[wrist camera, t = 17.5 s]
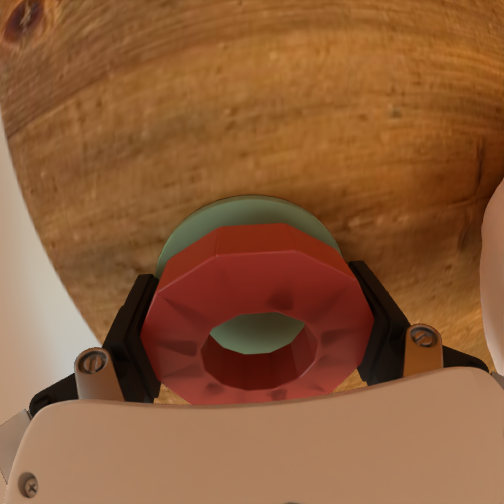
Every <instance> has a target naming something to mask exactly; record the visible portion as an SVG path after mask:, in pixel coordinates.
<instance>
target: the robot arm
mask: <svg viewBox="0 0 504 504" xmlns="http://www.w3.org/2000/svg"><path fill="white" fill-rule="evenodd" d="M348 267H349V268H350V270H351V271H352V273H353V274H354V276H355V277H356V279H357V281H358V283H359V285H360V287H361V289H362V291H363V294H364V296H365V298H366V300H367V303H368V305H369V307H370V309H371V312H372V314H373V316H374V323H373V327H372V331H371V334H370V338H369V341H368V344H367V347H366V351H365V354H364V357H363V360H362V362H361V364H360V365H359V366H358V367H357V370H358V372H359V374H360V377H361V379H362V381H366V382H367V385H368V386H366V387H362V388H357V389H352V390H347V391H342V392H336V393H331V394H324V395H318V396H311V397H304V398H297V399H289V400H279V401H269V402H257V403H242V404H217V405H177V404H153V402H154V398H158V396H159V391H160V386H161V382H160V381H158V380H157V377H156V375H155V373H154V371H153V368H152V366H151V364H150V361H149V359H148V356H147V354H146V351H145V349H144V346H143V343H142V341H141V338H140V332H141V329H142V326H143V324H144V321H145V318H146V315H147V313H148V310H149V307H150V304H151V302H152V299H153V297H154V294H155V291H156V289H157V286H158V284H159V279H158V278H157V277H154V276H153V274H142V275H139V276H138V277H137V279H136V281H135V283H134V285H133V287H132V289H131V291H130V293H129V295H128V297H127V299H126V301H125V303H124V305H123V306H122V307H121V308H120V309H119V311H118V313H117V315H116V318H115V320H114V322H113V324H112V326H111V328H110V330H109V333H108V335H107V337H106V339H105V341H104V344H103V346H102V348H100V347H94V348H89V349H87V350H85V351H83V352H82V353H81V354H80V355H79V356H78V357H77V358H76V360H75V362H74V372H75V373H73V374H71V375H70V376H68V377H66V378H64V379H62V380H60V381H59V382H57V383H55V384H53V385H51V386H50V387H48V388H46V389H44V390H42V391H41V392H39V393H37V394H36V395H35V396H34V397H33V398H32V400H31V402H30V406H29V410H28V411H27V410H26V409H24V410H22V411H21V412H19V413H18V414H16V415H15V416H13V417H12V418H11V419H9V420H8V421H6V422H5V423H3V424H2V425H1V426H0V471H1V473H2V475H3V477H4V479H5V482H6V484H7V490H6V494H5V498H4V504H504V376H502V375H500V374H498V373H495V372H493V371H492V372H491V374H490V373H489V370H488V367H487V366H486V364H485V363H484V362H483V361H482V360H480V359H478V358H476V357H473V356H470V355H468V354H465V353H462V352H459V351H457V350H454V349H451V348H449V347H446V346H443V345H442V339H441V335H440V334H439V332H438V331H437V330H436V329H435V328H433V327H431V326H430V325H426V324H420V323H418V324H413V325H410V323H409V322H408V319H407V318H406V317H405V315H404V314H403V312H402V311H401V310H400V308H399V307H398V306H397V304H396V303H395V301H394V300H393V299H392V297H391V296H390V295H389V293H388V292H387V291H386V289H385V288H384V287H383V285H382V284H381V283H380V282H379V280H378V279H377V278H376V276H375V275H374V274H373V272H372V271H371V270H370V269H369V267H368V266H367V265H366V264H365V262H364V261H362V260H361V261H350V262H349V263H348Z"/></svg>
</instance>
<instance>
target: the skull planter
mask: <svg viewBox="0 0 504 504" xmlns="http://www.w3.org/2000/svg"><path fill="white" fill-rule="evenodd" d="M481 235H482V252H481V258H480V297H481V307H482V317H483V327H484V333H485V338H486V342H487V346H488V349H489V351H490V354H491V356H492V359H493V362H494V365H495V368H496V370H497V372H498V374H500V375H502V376H504V178H503V180H502V181H501V183H500V185H499V186H498V187H497V189H496V190H495V192H494V194H493V196H492V197H491V199H490V201H489V202H488V205H487V207H486V210H485V212H484V218H483V223H482V226H481Z"/></svg>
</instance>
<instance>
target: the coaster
mask: <svg viewBox="0 0 504 504" xmlns="http://www.w3.org/2000/svg"><path fill="white" fill-rule="evenodd" d="M273 223H285V224H288V225H290V226H292V227H294V228H296V229H298V230H300V231H302V232H304V233H306V234H308V235H310V236H312V237H314V238H316V239H318V240H320V241H322V242H324V243H325V244H327V245H329V246H331V247H333V248H335V249H336V250H337V251H338V252H339V254H340V255H341V257H342V254H341V251H340V249H339V246H338V244H337V243H336V241H335V239H334V238H333V236H332V235H331V233H330V232H329V231H328V229H327V228H326V227H325V226H324V225H323V224H322V222H321V221H319V220H318V219H317V218H316V217H315V216H314V215H313V214H311V213H310V212H308V211H307V210H305V209H303V208H302V207H300V206H298V205H296V204H293V203H291V202H289V201H286V200H282V199H279V198H275V197H269V196H262V195H244V196H236V197H230V198H226V199H222V200H219V201H216V202H214V203H211V204H209V205H206V206H204V207H202V208H201V209H199V210H197V211H196V212H194V213H192V214H191V215H190V216H189V217H187V218H186V219H185V220H184V221H182V222H181V224H180V225H179V226H178V227H177V228H176V229H175V230H174V231H173V233H172V234H171V235H170V237H169V238H168V240H167V242H166V244H165V246H164V248H163V250H162V252H161V254H160V256H159V259H158V263H157V266H156V272H155V277H157V278H158V279H159V281H160V279H161V276H162V274H163V271H164V269H165V266H166V264H167V262H168V260H169V259H170V258H171V257H173V256H174V255H176V254H178V253H179V252H181V251H182V250H184V249H185V248H187V247H188V246H190V245H191V244H193V243H194V242H196V241H197V240H199V239H201V238H202V237H204V236H205V235H207V234H208V233H210V232H211V231H213V230H215V229H216V228H219V227H221V226H237V225H254V224H273ZM342 258H343V257H342ZM304 323H305V322H303V321H300V320H297V319H294V318H292V317H289V316H286V315H284V314H281V313H278V312H270V313H257V314H241V315H238V316H236V317H235V318H233V319H231V320H229V321H227V322H225V323H223V324H221V325H219V326H217V327H215V328H213V329H212V331H211V332H210V335H211V336H212V337H213V338H214V339H215V340H216V341H217V342H218V343H219V344H220V345H221V346H222V347H224V348H227V349H230V350H233V351H236V352H239V353H242V354H257V353H270V352H273V351H275V350H277V349H279V348H281V347H283V346H285V345H287V344H289V343H291V342H292V341H293V339H294V338H295V337H296V336H297V335H298V333H299V332H300V331H301V330H302V328H303V327H304Z"/></svg>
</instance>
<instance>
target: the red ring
mask: <svg viewBox="0 0 504 504" xmlns="http://www.w3.org/2000/svg"><path fill="white" fill-rule="evenodd" d="M270 312H278V313H281V314H284V315H286V316H289V317H292V318H294V319H297V320H300V321H303V322H305V323H304V327H303V328H302V330H301V331H300V332H299V333H298V335H297V336H296V337H295V338H294V339H293V341H292V342H291V343H289V344H287V345H285V346H283V347H281V348H279V349H277V350H275V351H273V352H270V353H257V354H242V353H239V352H236V351H233V350H230V349H227V348H224V347H222V346H221V345H220V344H219V343H218V342H217V341H216V340H215V339H214V338H213V337H212V336H211V335H210V332H211V331H212V329H213V328H215V327H217V326H219V325H221V324H223V323H225V322H227V321H229V320H231V319H233V318H235V317H236V316H238V315H241V314H257V313H270ZM373 323H374V316H373V314H372V312H371V309H370V307H369V305H368V303H367V300H366V298H365V296H364V294H363V291H362V289H361V287H360V285H359V283H358V281H357V279H356V277H355V276H354V274H353V273H352V271H351V270H350V268H349V267H348V265H347V264H346V262H345V261H344V259H343V258H342V257H341V255H340V254H339V252H338V251H337V250H336V249H335V248H333V247H331V246H329V245H327V244H325V243H324V242H322V241H320V240H318V239H316V238H314V237H312V236H310V235H308V234H306V233H304V232H302V231H300V230H298V229H296V228H294V227H292V226H290V225H288V224H285V223H273V224H254V225H237V226H221V227H219V228H216V229H215V230H213V231H211V232H210V233H208V234H207V235H205V236H204V237H202V238H201V239H199V240H197V241H196V242H194V243H193V244H191V245H190V246H188V247H187V248H185V249H184V250H182V251H181V252H179V253H178V254H176V255H174V256H173V257H171V258H170V259H169V260H168V262H167V264H166V266H165V269H164V271H163V274H162V276H161V279H160V281H159V284H158V286H157V289H156V291H155V294H154V297H153V299H152V302H151V304H150V307H149V310H148V313H147V315H146V318H145V321H144V324H143V326H142V329H141V332H140V338H141V341H142V343H143V346H144V349H145V351H146V354H147V356H148V359H149V361H150V364H151V366H152V368H153V371H154V373H155V375H156V377H157V380H158V381H160V382H161V383H162V384H164V385H165V386H166V387H168V388H169V389H170V390H172V391H173V392H174V393H176V394H177V395H179V396H180V397H181V398H183V399H184V400H186V401H187V402H189V403H190V404H192V405H217V404H242V403H257V402H269V401H279V400H289V399H297V398H304V397H311V396H318V395H324V394H329V393H331V392H332V391H333V390H334V389H335V388H337V387H338V386H339V385H340V384H341V383H342V382H343V381H344V380H345V379H346V378H347V377H348V376H349V375H350V374H351V373H352V372H353V371H354V370H355V369H356V368H357V367H358V366H359V365H360V364H361V362H362V360H363V357H364V354H365V351H366V347H367V344H368V341H369V338H370V334H371V331H372V327H373Z"/></svg>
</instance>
